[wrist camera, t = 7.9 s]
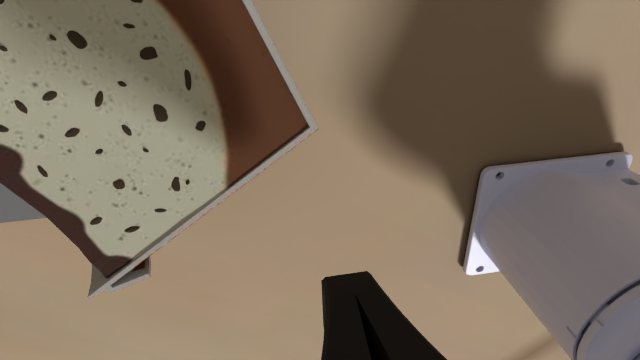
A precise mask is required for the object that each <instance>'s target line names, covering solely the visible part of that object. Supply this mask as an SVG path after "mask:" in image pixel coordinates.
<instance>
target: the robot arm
mask: <svg viewBox="0 0 640 360" xmlns="http://www.w3.org/2000/svg"><path fill="white" fill-rule="evenodd" d="M632 158H633V157H632V155H631V154H629V153H627V152H624V151H623V152H614V153H605V154H596V155H587V156H578V157H570V158H561V159H552V160H543V161H534V162H525V163H516V164H507V165H498V166H490V167H487V168H485V169H484V170H483V171H482V172H481V175H480V180H479V185H478V191H477V196H476V201H475V207H474V212H473V217H472V223H471V228H470V233H469V239H468V244H467V249H466V255H465V260H464V265H463V270H464V272H465V273H466V274H467V275H477V274H484V273H491V272H498V271H500V272H501V273H502V274H503V275H504V277H505V278H506V279H507V280H508V282H509V283H510V284H511V285H512V287H513V288H514V289H515V290H516V291H517V293H518V294H519V295H520V296H521V298H522V299H523V300H524V301H525V303H526V304H527V305H528V306H529V308H530V309H531V310H532V311H533V312H534V314H535V315H536V316H537V317H538V319H539V320H540V321H541V322H542V324H543V325H544V326H545V327H546V329H547V330H548V331H549V332H550V333H551V335H552V336H553V337H554V338H555V340H556V341H557V342H558V343H559V345H560V346H561V347H562V348H563V349H564V351H565V352H566V353H567V354H568V356H569V357H570V358H571V359H572V360H640V175H638V174H636V173H634V172H632V171H631V170H629V167H630V165H631V162H632ZM499 172H500V174H499V175H498V176H496V175H497V174H498V173H499ZM322 301H323V323H324V342H323V351H322V358H321V360H447V359H446V358H445V357H444V356H443V355H442V354H441V353H440V352H439V351H438V350H437V349H435V348H434V347H433V346H432V345H431V344H430V343H429V342H428V341H427V340H426V339H425V337H424V336H423V335H422V334H421V333H420V332H419V331H418V330H417V329H416V328H415V327H414V326H413V325H412V324H411V323H410V321H409V320H408V319H407V318H406V317H405V316H404V315H403V314H402V313H401V311H400V310H399V309H398V308H397V307H396V306H395V304H394V303H393V302H392V301H391V300H390V298H389V297H388V296H387V295H386V293H385V292H384V291H383V290H382V288H381V287H380V286H379V285H378V283H377V282H376V281H375V279H374V278H373V277H372V275H371V274H370V273H369V272H367V271H365V272H358V273H351V274H344V275H337V276H330V277H325V278H324V279H323V280H322Z"/></svg>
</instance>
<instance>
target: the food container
mask: <svg viewBox="0 0 640 360" xmlns="http://www.w3.org/2000/svg"><path fill="white" fill-rule="evenodd" d="M316 130H318V128H317V126H316V124H315V122H314V120H313V118H312V116H311V115H310V113H309V111H308V109H307V107H306V105H305V103H304V101H303V99H302V97H301V95H300V93H299V92H298V90H297V88H296V86H295V84H294V82H293V80H292V78H291V76H290V74H289V72H288V70H287V69H286V67H285V65H284V63H283V61H282V59H281V57H280V55H279V53H278V51H277V49H276V47H275V46H274V44H273V42H272V40H271V38H270V36H269V34H268V32H267V30H266V28H265V26H264V24H263V23H262V21H261V19H260V17H259V15H258V13H257V11H256V9H255V7H254V5H253V3H252V1H251V0H0V183H1V184H2V185H4V186H5V187H6V188H8V189H9V190H10V191H12V192H13V193H15V194H16V195H17V196H19V197H20V198H21V199H23V200H24V201H25V202H27V203H28V204H29V205H31V206H32V207H33V208H35V209H36V210H37V211H39V212H40V213H42V214H43V215H44V216H46V217H47V218H48V219H49V220H50V221H51V222H52V223H53V224H54V225H55V226H56V227H58V228H59V229H60V230H61V231H62V232H63V233H64V234H65V235H66V236H67V237H68V238H69V239H70V240H71V241H72V242H73V243H74V244H75V245H76V246H77V247H78V248H79V249H80V250H81V251H82V253H83V254H84V255H85V256H86V258H87V259H88V260H89V261H90V262H91V263H92V278H91V285H90V290H89V294H88V298H91V297H93V296H95V295H96V294H98V293H100V292H102V291H104V290H105V289H107V290H108V291H109V292H110V293H112V292H115V291H117V290H120V289H122V288H125V287H127V286H129V285H132V284H134V283H137V282H139V281H141V280H144V279H146V278H149V277H150V270H151V261H150V255H152V254H153V253H154V252H156V251H157V250H158V249H160V248H161V247H162V246H164V245H165V244H166V243H168V242H169V241H170V240H172V239H173V238H174V237H176V236H177V235H178V234H180V233H181V232H182V231H183V230H185V229H186V228H187V227H189V226H190V225H191V224H193V223H194V222H195V221H197V220H198V219H199V218H201V217H202V216H203V215H205V214H206V213H207V212H209V211H210V210H211V209H213V208H214V207H215V206H217V205H218V204H219V203H221V202H222V201H223V200H225V199H226V198H227V197H229V196H230V195H231V194H233V193H234V192H235V191H237V190H238V189H239V188H241V187H242V186H243V185H245V184H246V183H247V182H249V181H250V180H251V179H253V178H254V177H255V176H257V175H258V174H259V173H261V172H262V171H263V170H265V169H266V168H267V167H269V166H270V165H271V164H273V163H274V162H275V161H277V160H278V159H279V158H281V157H282V156H283V155H285V154H286V153H287V152H289V151H290V150H291V149H293V148H294V147H295V146H296V145H298V144H299V143H300V142H302V141H303V140H304V139H306V138H307V137H308V136H310V135H311V134H312V133H314V132H315V131H316Z"/></svg>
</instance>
